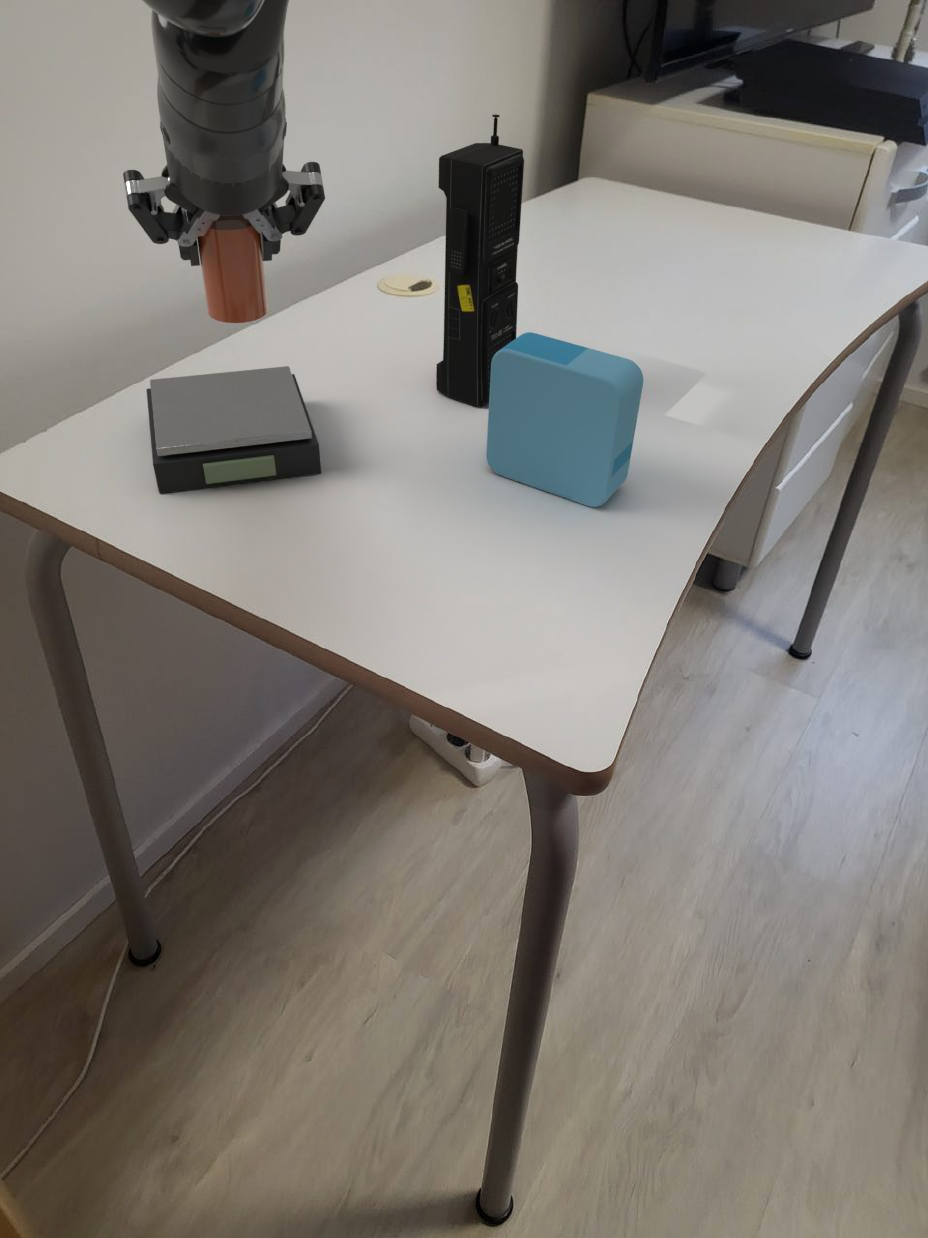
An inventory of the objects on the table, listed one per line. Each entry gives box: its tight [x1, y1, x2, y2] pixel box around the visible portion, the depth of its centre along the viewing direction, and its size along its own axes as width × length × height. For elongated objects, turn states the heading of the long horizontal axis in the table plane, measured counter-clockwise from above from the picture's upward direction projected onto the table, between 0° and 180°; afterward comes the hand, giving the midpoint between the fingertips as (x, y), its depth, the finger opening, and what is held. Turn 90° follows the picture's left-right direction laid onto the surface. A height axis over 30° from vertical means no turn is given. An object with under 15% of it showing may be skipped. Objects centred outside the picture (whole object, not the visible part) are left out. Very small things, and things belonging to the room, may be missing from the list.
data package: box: [485, 331, 644, 508], centre depth 80 cm, size 12×4×12 cm, turn 59°
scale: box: [146, 373, 322, 495], centre depth 86 cm, size 14×14×3 cm
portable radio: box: [435, 114, 525, 408], centre depth 88 cm, size 8×6×25 cm
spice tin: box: [197, 219, 269, 324], centre depth 74 cm, size 5×5×8 cm
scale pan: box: [149, 365, 312, 456], centre depth 85 cm, size 13×13×1 cm
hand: (229, 251), depth 75 cm, fingers closed on spice tin, 5 cm apart
